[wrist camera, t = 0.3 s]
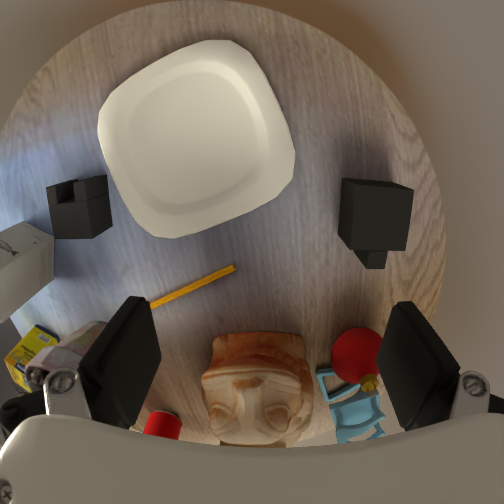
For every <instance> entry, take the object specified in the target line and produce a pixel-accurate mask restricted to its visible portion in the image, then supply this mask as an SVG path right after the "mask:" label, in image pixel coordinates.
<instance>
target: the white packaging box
mask: <svg viewBox="0 0 504 504" xmlns="http://www.w3.org/2000/svg"><path fill="white" fill-rule="evenodd" d="M53 279H54V236H52V235H49V234H47V233H45V232H43V231H41V230H39V229H37V228H36V227H34V226H32V225H30V224H28V223H27V222H25V221H22V222H20V223H18V224H16V225H14V226H12V227H10V228H8V229H5V230H3V231H1V232H0V323H1V324H2V323H3V322H4V321H5V320H6V319H7V318H8V317H9V316H11V315H12V314H13V313H14V312H15V311H16V310H17V309H18V308H20V307H21V306H22V305H23V304H24V303H25V302H27V301H28V300H29V299H30V298H31V297H33V296H34V295H35V294H36V293H37V292H39V291H40V290H41V289H42V288H43V287H45V286H46V285H47V284H48V283H50V282H51V281H52V280H53Z"/></svg>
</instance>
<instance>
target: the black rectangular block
mask: <svg viewBox="0 0 504 504" xmlns="http://www.w3.org/2000/svg"><path fill="white" fill-rule="evenodd" d="M413 194H414V190H413V189H410V188H407V187H405V186H402V185H399V184H396V183H393V182H384V181H373V180H362V179H349V178H342V188H341V203H340V217H339V228H338V235H339V237H340V238H341V239H342V240H343V242H344V243H345V244H346V246H347V247H348V248H349V250H354V251H353V252H354V253H355V254H356V256H357V257H358V258H359V260H360V261H361V262H362V264H363V265H364V266H365V268H366V269H384V268H385V263H386V258H387V252H388V251H405V249H406V243H407V237H408V231H409V225H410V218H411V211H412V203H413Z"/></svg>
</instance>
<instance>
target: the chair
mask: <svg viewBox="0 0 504 504" xmlns="http://www.w3.org/2000/svg"><path fill="white" fill-rule="evenodd" d="M316 375H317V379H318V381H319V384H320V387H321V390H322V393H323V396H324V399H325V401H326V402H331V401H333V400H336V399H338V398H340V397H342V396H344V395H346V394H347V393H349V392H351V391H353V390H355V389H357V388H359V387H360V389H359V390H358V392H357V393H356V394H355V395H353V396H352V397H350V398H348V399H346V400H344V401H341V402H337V403H334V404H330V405H329V407H330V411H331V414H332V417H333V420H334V424H335V427H336V437H337V441H338V444H342V443H349V442H350V441H347V439H349V438H352V437H355V436H358V435H361V434H363V433H365V432H366V431H368V430H369V429H370V428H372V427H373V426H374V427H375V428H376V430H377V431H376V432H375V433H374V434H373V435H372V436H371V437H370V438H368V439H366V440H369V439H374V438H379V437H380V436H382V435H384V434H385V432H384V431H383V430H382V429H381V427H380V425H379V423H378V422H379V421H380V420H382V419H383V418H385V417H386V416H385V415H384V414H383V413H382V412H381V411H380V410H379V393H378V390H376V393H375V394H374V396H372V397H369V396H368V395H367V392H364V391H362V390H361V385H360V384H352V383H351V384H350V385H348V386H346V387H344V388H343V389H341V390H339V391H337V392H335V393H333V394H331V395H328V394H327V391H326V388H325V384H324V381H323V378H322V376H333V375H336V373H335V372H334V370H333V368H325V369H319V370H317V371H316ZM373 392H374V390H372V391H369V395H370V396H371V395H372V394H373Z"/></svg>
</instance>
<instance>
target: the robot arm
mask: <svg viewBox="0 0 504 504" xmlns="http://www.w3.org/2000/svg"><path fill="white" fill-rule="evenodd" d="M160 362H161V351H160V347H159V343H158V339H157V334H156V330H155V326H154V321H153V317H152V312H151V307H150V303H149V302H148V301H146V300H145V298H144V297H137V296H129V297H128V298H127V300H126V301H125V302H124V303H123V305H122V306H121V307H120V308H119V310H118V311H117V312H116V314H115V315H114V316H113V317H112V319H111V320H110V321H109V323H108V324H107V325H106V327H105V328H104V329H103V331H102V332H101V333H100V335H99V336H98V337H97V339H96V340H95V341H94V343H93V344H92V345H91V347H90V348H89V350H88V351H87V352H86V354H85V355H84V357H83V358H82V359H81V361H80V362H79V364H78V365H79V367H78V368H77V370H75V369H73V368H71V367H59V368H57V369H54V370H53V371H51V372H50V373H49V374H48V375H47V376H46V378H45V380H44V389H41V390H38V391H35V392H32V393H28V394H25V395H22V396H19V397H16V398H12V399H10V400H8V401H7V402H5V403H4V404H3V406H2V407H1V410H0V504H504V399H503V398H500V397H497V396H495V395H492V394H490V386H489V383H488V381H487V379H486V378H485V377H484V376H483V375H482V374H480V373H478V372H475V371H467V372H464V373H462V375H460V374H459V370H460V366H459V364H458V363H457V361H456V360H455V358H454V357H453V356H452V354H451V353H450V351H449V350H448V348H447V347H446V345H445V344H444V343H443V341H442V340H441V338H440V337H439V336H438V334H437V333H436V332H435V330H434V329H433V328H432V326H431V325H430V324H429V322H428V321H427V320H426V318H425V317H424V316H423V315H422V313H421V312H420V311H419V309H418V308H417V307H416V306H415V304H414V303H413V302H412V301H401V302H398V303H397V304H396V305H395V306H393V308H392V311H391V314H390V317H389V321H388V324H387V327H386V330H385V333H384V336H383V339H382V342H381V345H380V348H379V351H378V353H377V356H376V365H377V368H378V370H379V372H380V375H381V377H382V380H383V382H384V385H385V387H386V390H387V392H388V395H389V397H390V400H391V402H392V405H393V408H394V410H395V413H396V415H397V418H398V421H399V424H400V426H401V427H402V428H404V429H405V432H402V433H398V434H394V435H389V436H384V437H379V438H374V439H369V440H363V441H356V442H349V443H342V444H333V445H324V446H310V447H293V448H292V447H290V448H254V447H234V446H221V445H210V444H202V443H194V442H187V441H180V440H174V439H169V438H163V437H158V436H154V435H149V434H144V433H139V432H135V431H131V430H129V428H130V426H131V425H132V426H133V425H134V424H135V423H136V420H137V418H138V415H139V413H140V410H141V408H142V405H143V403H144V400H145V398H146V395H147V393H148V391H149V388H150V386H151V383H152V381H153V379H154V376H155V374H156V371H157V369H158V367H159V364H160Z"/></svg>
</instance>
